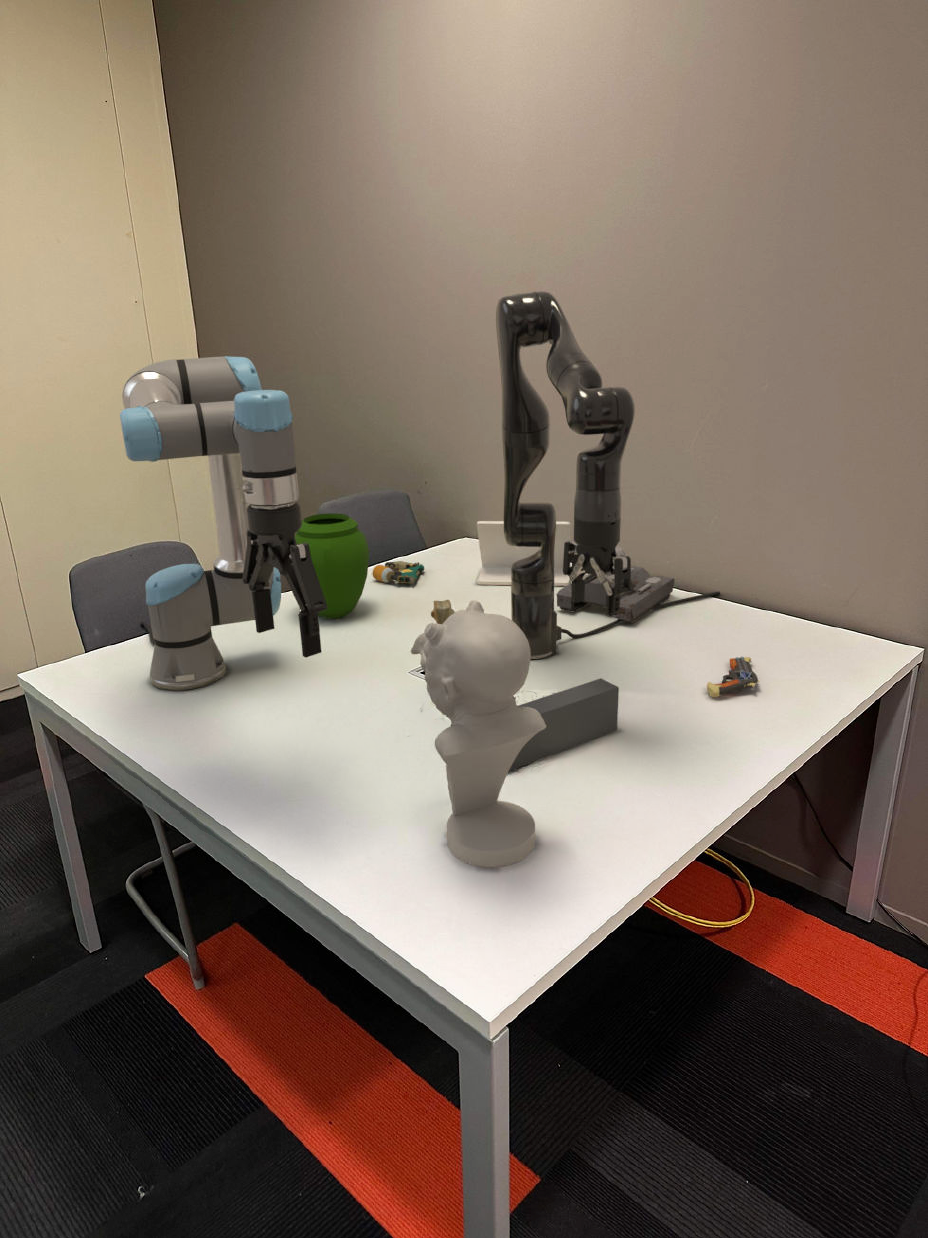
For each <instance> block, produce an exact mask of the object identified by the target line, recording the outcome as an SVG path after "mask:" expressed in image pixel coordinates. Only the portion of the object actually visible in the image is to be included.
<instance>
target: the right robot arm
mask: <svg viewBox="0 0 928 1238" xmlns="http://www.w3.org/2000/svg"><path fill="white" fill-rule="evenodd" d="M495 327H496V339H497V340H496V341H497V347H498V348H497V349H498V358H499V359H498V360H499V370H500V381H501V439H502V453H503V454H502V455H503V471H504V473H503V474H504V493H503V494H504V495H503V521H504V537H505V540H506V543H507V544H508V545H509V546H513V547H540V549H539V550H538V551H537V552H536V553H534V554H533V555H531V556H529V557H526V558H523V559H520V560H518V561H516V562H515V563H513V565H512V567H511V585H510V588H511V589H510V597H511V599H510V603H511V604H510V606H511V607H510V609H511V610H510V615H511V617H510V619H511V620H512V621H513V622H514V623H515V624H516V625H517V626H518V627H519V628H520V629H521V630H522V632H523V633H524V634H525V636H526V638H527V640H528V643H529V646H530V652H531V653H530V655H531V656H530V660H540V659H545V658H548V657H550V656H552V655H557V654H558V653H557V650H558V649H557V648H558V647H557V645H558V644H557V643H558V641H561V640H562V634H566V635H567V636H568V637H570V638H572V639H580V638H586V637H590V636H591V635H594V634H597V633H599V632H602V631H605V630H607V629H610V628H612V627H614V626H616V625H618V624H620V623H622V622H623V621H621V620H620V619H616V620H614V621H612V622H610V623H608V624H606V625H602V626H600V627H597V628H594V629H592V630H589V631H587V632H584V633H573V632H571V631H570V630H569V629H566V628H562V627H561V626H559V625H558V613H557V612H556V611H555V586H554V548H555V534H556V522H557V513H556V508H555V506H554V504H553V503H551V502H520V499H521V496H522V493H523V491H524V489H525V486H526V485H527V483H528V481H529V479H530V478H531V476H532V475H533V473H534V472H535V471H536V469H537V468H538V466H539V465H540V464H541V462H542V461H543V460H544V458H545V456H546V454H547V453H548V451H549V447H550V439H551V438H550V431H551V430H550V425H551V424H550V423H551V422H550V419H551V418H550V412H549V409H548V406H547V405H546V403H545V401H544V400H543V399H542V397H541V395H540V394H539V393H538V392H537V390H536V389H535V387H534V386H533V384H531V382H530V380H529V378H528V377H527V375H526V373H525V371H524V368H523V365H522V361H521V349H524V348H531V347H536V346H543V345H546V344H549V345H551V347H550V349H549V351H548V354H547V357H546V362H545V365H546V366H545V367H546V368H545V369H546V374H547V377H548V379H549V381H550V383H551V384H552V386H553V387H554V389H555V390H556V392H557V393H558V394H559V396H560V397H561V400H562V403H563V408H564V411H565V418H566V423H567V426H568V427H569V428H570V430H571V431H573V432H574V433H576V434H578V435H581V436H593V435H602V437H601V439H600V441H599V442H598V443H597V444H596V445H594V446H592V447H589V448H586V449H584V450H582V451H580V452H579V453H578V454H577V457H576V473H575V474H576V476H575V495H574V502H573V539H572V540H570V541H569V542H565V543H564V558H563V574H564V575H568V576H569V578H570V582H571V583H572V586H571V589H572V590H571V591H572V592H571V595H572V601H573V602H576V603H577V602H581V601H583V600H584V598H585V580H583V579H584V578H585V576H586V575H587V574H592V575H594V576H596V577H598V579H599V581H600V583H601V584H603V585H604V587H605V589H606V592H607V594H608V595H606V607H605V615H606V616H607V617H609V618H611V617H615V615H617V614H618V612H619V610H620V595H621V594H623V593H627V592H630V591H631V566H632V561H631V560H632V559H631V557H630V555H626V557H620V556H617V554H616V547H618V544H619V543H620V542H621V521H622V494H621V483H622V481H621V480H622V479H621V478H622V460H623V457H624V454H625V450H626V446H627V444H628V440H629V435H630V434H631V430H632V427H633V424H634V420H635V414H636V406H635V401H634V398H633V395H632V393H631V392H630V391H629V390H628V389H627V388H625V387H623V386H606V387H603V378H602V375H601V374H600V372H599V369H597V368H596V366H595V365H594V364H593V362H592V361H591V360H590V359H589V357H587V355H586V354H585V353H584V351H583V350H582V348H581V347H580V345H579V343H578V341H577V338H576V337H575V335H574V332H573V330H572V327H571V325H570V323H569V321H568V319H567V317H566V315H565V312H564V311H563V309H562V307H561V304H560V303H559V301H558V300H557V298H556V297H555V296H554V295H553V294H552V293H551V292H549V291H548V290H536V291H530V292H522V293H516V294H510V295H503V296H502V297H501V298H500V299H499V300H498V302H497V305H496V311H495ZM570 562H571V565H570ZM609 572H611V575H610V576H606V575H607V574H608V573H609ZM622 580H623V583H624V585H623V586H622ZM610 582H613V585H614V587H613V588H612V585H611V583H610ZM719 595H721V591H719V590H718V591H713V592H709V593H703V594H700V595H694V596H690V597H685V598H680V599H676V600H671V601H668V602H667V601H666V602H663V603H661V604H659V605H656V606H654V607H653V609H652V610H651V611H654V610H658V609H661V608H665V607H669V606H672V605H673V606H674V605H676V604H677V605H678V604H682V603H686V602H691V601H696V600H701V599H705V598H710V597H714V596H715V597H716V596H719Z"/></svg>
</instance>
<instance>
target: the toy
mask: <svg viewBox="0 0 928 1238" xmlns="http://www.w3.org/2000/svg"><path fill="white" fill-rule="evenodd" d="M616 554H617V556H620V557H626V556H627V555H626V551H625V549H624V548H622V547H621V546H616ZM610 575H611V572H609V573H608V574H607V575H606V576H610ZM583 580H585V598H584V600H583V601H581V602H577V603H576V602H573V601H572V595H571V592H572V591H571V590H572V589H571V586H572V582H570V583H569V585H567V586H563V587H562V588H560V589H559V590H558V591H557V592H556V607H558V608H559V609H560V610H562V611H566V612H572V613H575V612H577V611H579V610H581V609H582V608H585V607H586V606H588V605H592V606H598V607H602V608H603V607H604V608H606V595H608V594H607V592H606V589H605V587H604V585H603V584H601V583H600V581H599V579H598V577H596V576H594V575H592V574H587V575H586V576H585V578H584V579H583ZM675 580H676V579H675V578H673V577H668V576H663V575H656V576H655V577H654V576H651V574H650V573H649V572H648V571H647V570H646V568H644V567H641V566H635V565H631V591H630V592H627V593H623V594H621V595H620V610H619V612H618V614H617V615H615V616H614V618H615V619H616V620H618V619H620V620H621V621H622V622H626V623H631V624H634V623H635V622H637V621H638V620H640V619H641V618H642V617H644V616H645V615H647V614H648V613H650V612H651V611H653V610H652V609H653V607H654V606H656V605H659V604H663V603H665V602H667V600H669V598H670V596H671V594H672V593H673V591H674V585H675ZM610 583H611V585H612V588H613V587H614V585H613V582H610ZM623 585H624V583H623V580H622V586H623Z"/></svg>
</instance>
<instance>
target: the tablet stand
mask: <svg viewBox="0 0 928 1238" xmlns="http://www.w3.org/2000/svg"><path fill="white" fill-rule="evenodd" d="M476 531H477V537H478V544H479V551H480V557H481V558H480V559H481V570H480V573H479V575H478V577H477V580H476V581H477V582H476V584H478V585H484V586H485V585H486V586H487V585H489V586H490V585H491V586H511V567H512V565H513V563H515V562H516V561H518V560H520V559H523V558H526V557H529V556H531V555H533V554H534V553H536V552H537V551H538V550H539V549H540V547H513V546H509V545H508V544H507V543H506V540H505V537H504V520H477V522H476ZM569 541H571V522H569V521H556V534H555V548H554V587H556V586H557V587H566V586H567V585H569V584H570V582H571V580H570V578H569V576H568V575H564V574H563V558H564V543H565V542H569ZM570 566H572V562H570Z"/></svg>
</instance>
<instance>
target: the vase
mask: <svg viewBox="0 0 928 1238" xmlns="http://www.w3.org/2000/svg"><path fill="white" fill-rule="evenodd" d="M358 524H359V523H358V521H356V520H355V519H353V518H352V517H350V516H349V515H347V514H344V513H335V512H334V513H333V512H331V513H320V514H313V515H310V516H307V517H305V518H303V519H302V527H301V528H300V529H299V530H297V531H296V533H295V539H296V542H297V544H302V543H308V544H309V548H310V554H311V560H312V563H313V566H314V568H315V571H316V574H317V577H318V580H319V583H320V586H321V589H322V592H323V595H324V598H325V601H326V604H327V610H325V611H321V612H319V613H318V617H320V618H324V619H326V620H327V619H329V620H336V619H341V618H345V617H347V616H349V615H350V614H351V613H352V612H353V611H354V610H355V608H356V607H357V605H358V604H359V601H360V599H361V597H362V595H363V592H364V588H365V586H366V581H367V578H368V570H369V561H370V560H369V559H370V548H369V545H368V541H367V537H366V535H365V534H364V533H363V532H362V531H361V530H360V529H359V527H358ZM292 565H293V564H292ZM318 603H319V602H318Z"/></svg>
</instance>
